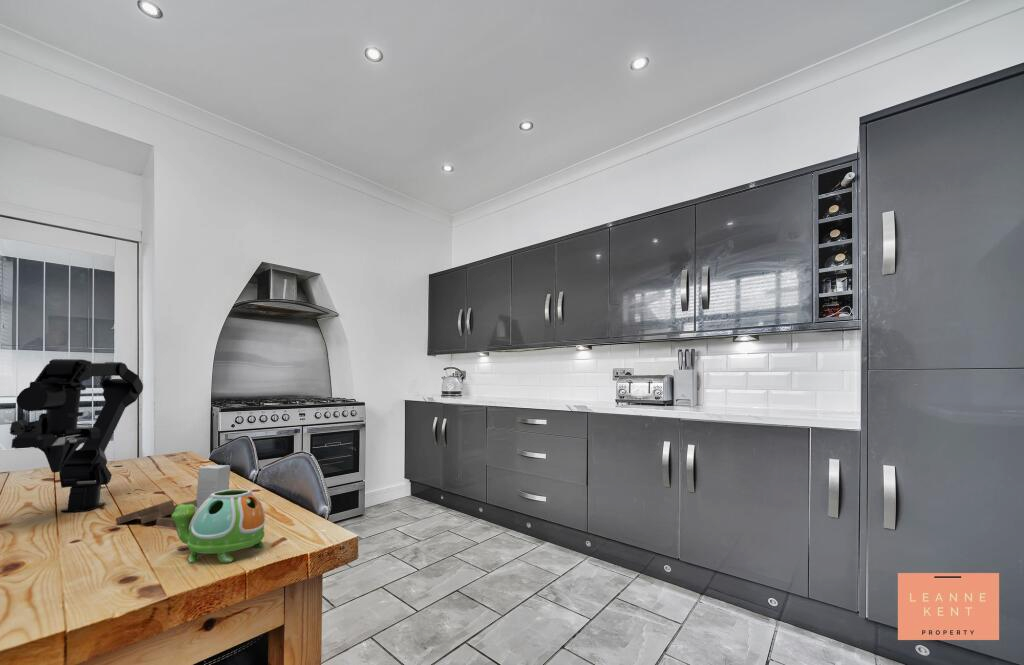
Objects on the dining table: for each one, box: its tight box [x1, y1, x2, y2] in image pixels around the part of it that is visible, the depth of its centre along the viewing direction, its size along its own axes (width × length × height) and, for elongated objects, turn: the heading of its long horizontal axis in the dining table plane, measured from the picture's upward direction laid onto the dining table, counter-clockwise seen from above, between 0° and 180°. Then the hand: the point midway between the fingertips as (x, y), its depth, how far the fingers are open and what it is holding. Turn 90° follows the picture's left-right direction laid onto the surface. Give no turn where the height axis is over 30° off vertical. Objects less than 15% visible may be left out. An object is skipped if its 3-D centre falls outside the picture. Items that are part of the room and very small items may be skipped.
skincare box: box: [195, 464, 231, 512], centre depth 115 cm, size 6×4×12 cm
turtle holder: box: [172, 488, 266, 564], centre depth 89 cm, size 12×18×12 cm
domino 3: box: [155, 515, 177, 528], centre depth 104 cm, size 2×5×10 cm
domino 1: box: [115, 499, 175, 525], centre depth 108 cm, size 2×5×10 cm
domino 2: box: [140, 499, 197, 525], centre depth 107 cm, size 2×5×10 cm
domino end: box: [152, 524, 177, 530], centre depth 104 cm, size 2×5×10 cm
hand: (55, 472), depth 108 cm, fingers closed
